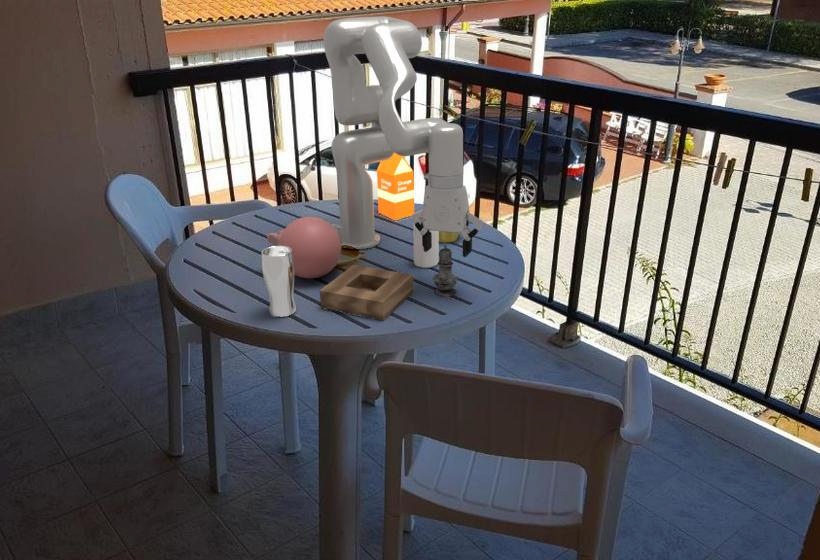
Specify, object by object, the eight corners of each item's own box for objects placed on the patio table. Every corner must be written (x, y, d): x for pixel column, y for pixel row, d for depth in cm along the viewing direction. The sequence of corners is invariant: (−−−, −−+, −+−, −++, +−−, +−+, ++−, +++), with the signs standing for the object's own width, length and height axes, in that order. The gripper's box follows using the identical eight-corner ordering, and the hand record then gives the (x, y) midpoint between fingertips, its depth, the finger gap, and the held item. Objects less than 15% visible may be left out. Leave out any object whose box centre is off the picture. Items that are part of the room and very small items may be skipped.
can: (442, 261, 181) (442, 218, 176) (432, 270, 176) (432, 226, 171) (419, 257, 184) (419, 215, 179) (409, 266, 178) (408, 222, 173)
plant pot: (465, 233, 200) (466, 200, 196) (462, 246, 191) (462, 212, 187) (430, 231, 202) (430, 199, 198) (425, 244, 193) (425, 211, 188)
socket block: (321, 308, 157) (319, 290, 155) (354, 281, 170) (353, 264, 169) (383, 320, 151) (382, 302, 149) (413, 291, 164) (413, 274, 162)
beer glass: (284, 322, 151) (277, 259, 145) (261, 314, 155) (253, 253, 149) (304, 309, 157) (299, 248, 151) (281, 302, 160) (275, 242, 154)
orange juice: (397, 209, 221) (396, 147, 213) (414, 216, 214) (413, 153, 206) (378, 214, 216) (375, 152, 208) (394, 221, 210) (393, 157, 202)
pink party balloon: (288, 258, 185) (282, 203, 179) (353, 268, 178) (350, 212, 171) (254, 279, 172) (247, 222, 166) (323, 292, 165) (318, 232, 158)
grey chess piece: (455, 297, 161) (456, 250, 156) (431, 296, 162) (430, 249, 157) (459, 287, 166) (459, 241, 161) (435, 285, 167) (435, 239, 162)
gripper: (403, 181, 153) (406, 253, 160) (477, 188, 146) (476, 262, 153) (417, 173, 159) (419, 242, 166) (488, 179, 152) (487, 251, 159)
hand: (446, 252), depth 159 cm, fingers open, 9 cm apart
